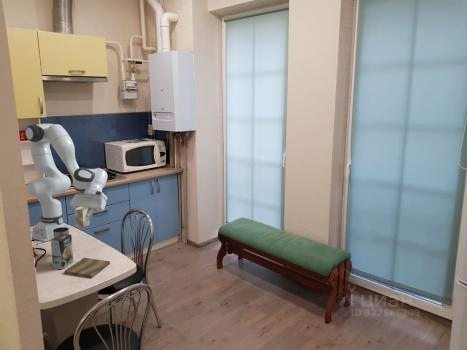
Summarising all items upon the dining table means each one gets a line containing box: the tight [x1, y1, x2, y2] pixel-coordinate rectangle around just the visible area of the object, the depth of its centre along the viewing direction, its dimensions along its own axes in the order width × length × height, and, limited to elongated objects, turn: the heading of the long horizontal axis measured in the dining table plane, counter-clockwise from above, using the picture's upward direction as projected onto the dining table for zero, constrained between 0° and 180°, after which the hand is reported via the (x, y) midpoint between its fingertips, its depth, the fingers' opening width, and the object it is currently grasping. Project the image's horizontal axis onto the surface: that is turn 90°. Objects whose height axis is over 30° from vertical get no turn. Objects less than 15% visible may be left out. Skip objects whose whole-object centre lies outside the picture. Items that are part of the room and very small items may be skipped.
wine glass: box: [53, 226, 70, 238], centre depth 205 cm, size 8×8×15 cm
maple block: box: [74, 206, 90, 228], centre depth 200 cm, size 5×5×10 cm
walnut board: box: [64, 257, 111, 279], centre depth 191 cm, size 16×16×2 cm
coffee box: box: [50, 233, 74, 270], centre depth 192 cm, size 9×6×16 cm
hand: (82, 215), depth 201 cm, fingers closed on maple block, 5 cm apart
